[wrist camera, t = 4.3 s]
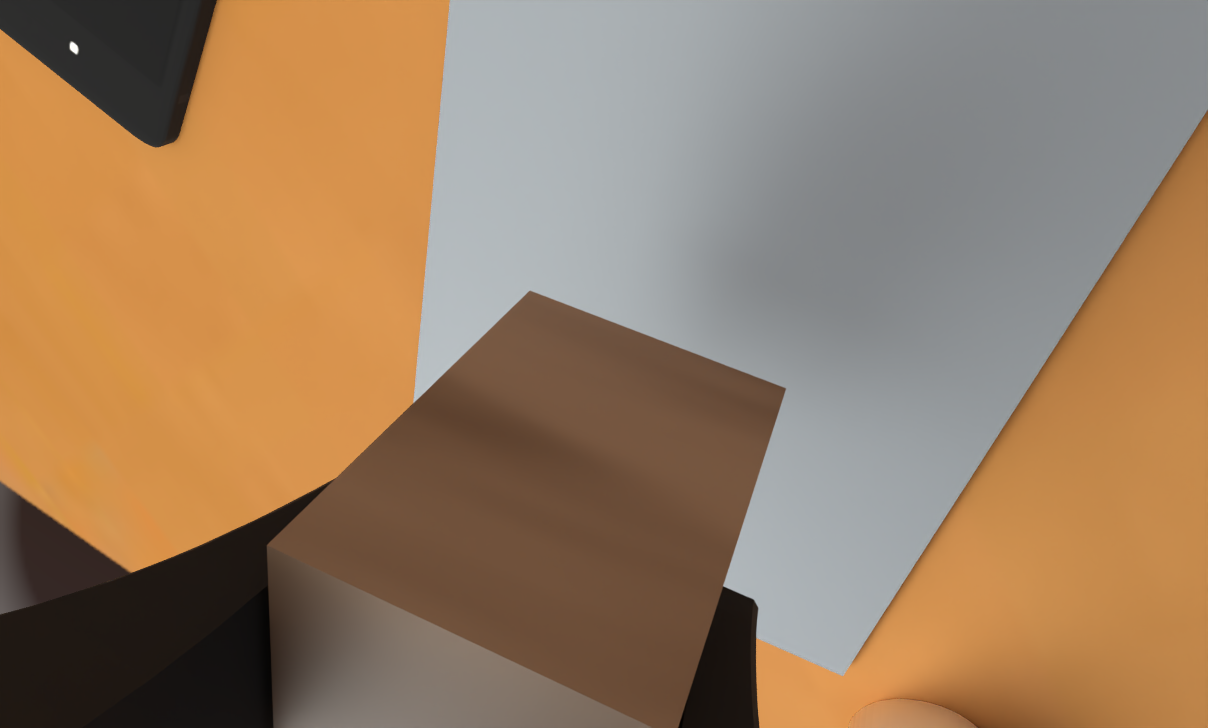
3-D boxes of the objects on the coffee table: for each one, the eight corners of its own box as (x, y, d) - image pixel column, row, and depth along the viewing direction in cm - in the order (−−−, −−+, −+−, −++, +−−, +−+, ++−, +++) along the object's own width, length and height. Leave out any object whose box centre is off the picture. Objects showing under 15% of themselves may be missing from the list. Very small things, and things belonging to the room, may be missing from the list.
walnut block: (707, 575, 15) (581, 935, 10) (494, 483, 16) (275, 773, 11) (786, 388, 13) (674, 737, 8) (530, 290, 14) (266, 544, 8)
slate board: (844, 664, 23) (842, 676, 23) (412, 475, 25) (406, 483, 25) (1270, -4, 13) (1278, -1, 12) (479, -213, 15) (469, -215, 15)
